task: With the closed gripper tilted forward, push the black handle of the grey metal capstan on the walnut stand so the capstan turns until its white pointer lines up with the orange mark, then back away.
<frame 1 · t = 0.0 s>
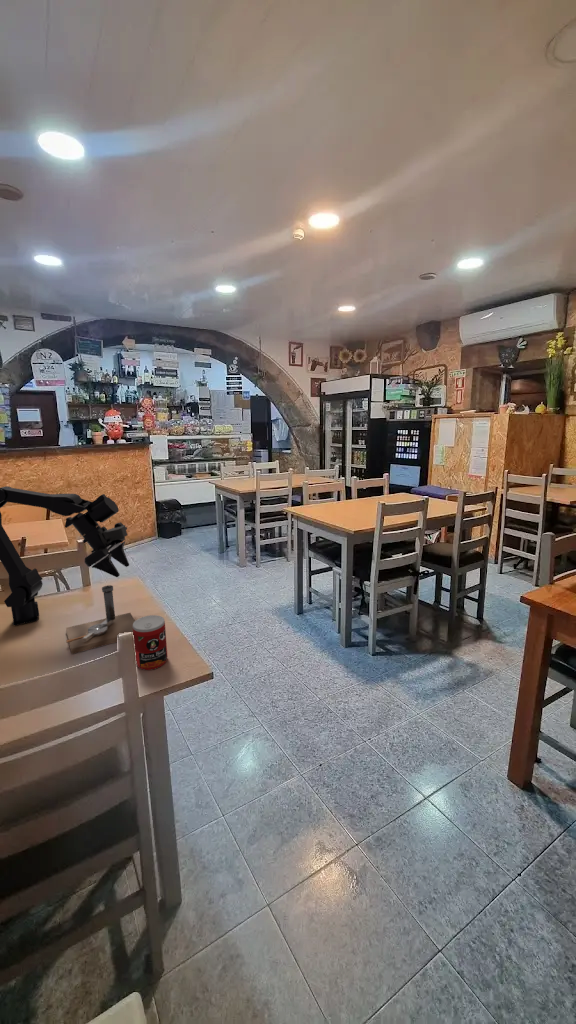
hand: (123, 571, 129), 15 cm above the table, tool tilted 35°, fingers open, 9 cm apart
canned food: (152, 662, 106), on the table
stand: (103, 633, 121), on the table
capstan: (98, 612, 118), point 7 cm above the table, hinge at 0.0°
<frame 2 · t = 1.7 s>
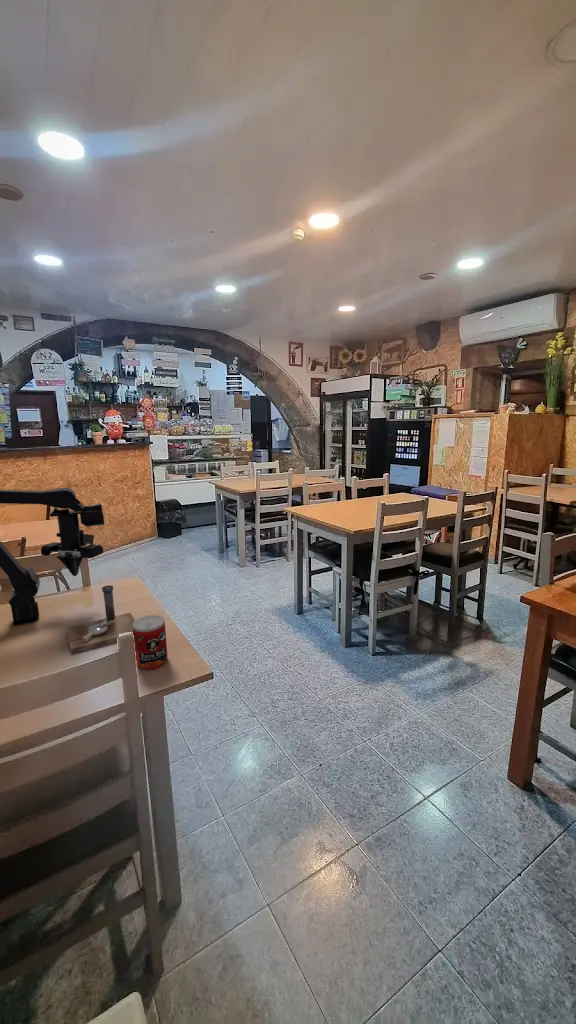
hand: (75, 575, 134), 12 cm above the table, tool pointing down, fingers closed
nothing on the table moved.
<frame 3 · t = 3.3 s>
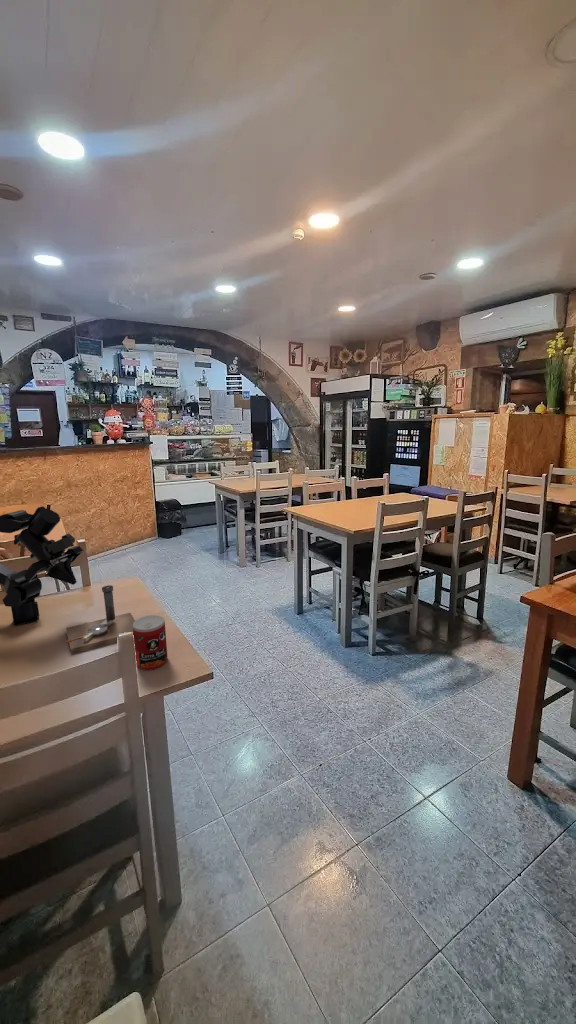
hand: (75, 583, 124), 13 cm above the table, tool tilted 45°, fingers closed
nothing on the table moved.
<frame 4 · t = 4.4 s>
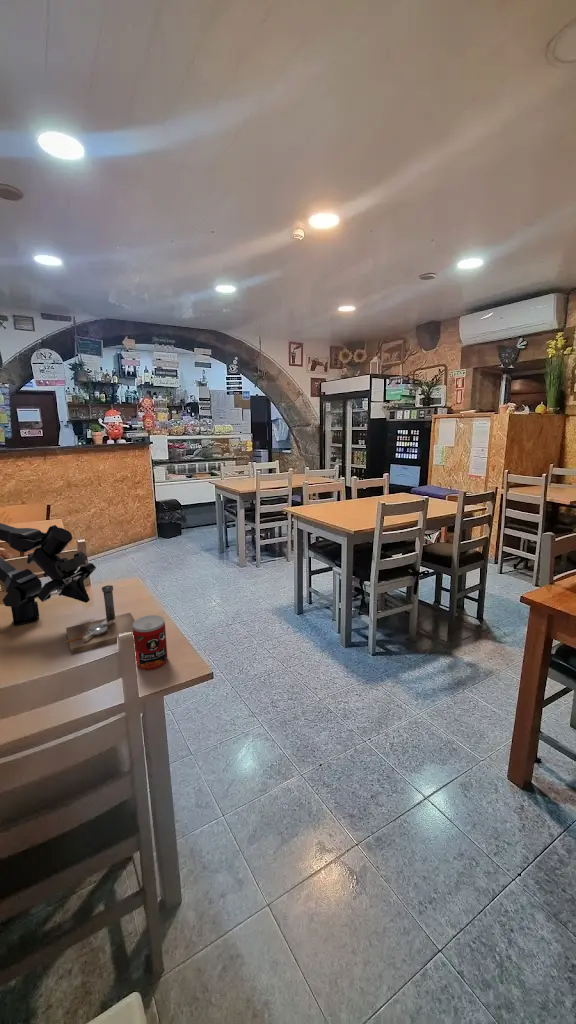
hand: (88, 601, 123), 8 cm above the table, tool tilted 45°, fingers closed
nothing on the table moved.
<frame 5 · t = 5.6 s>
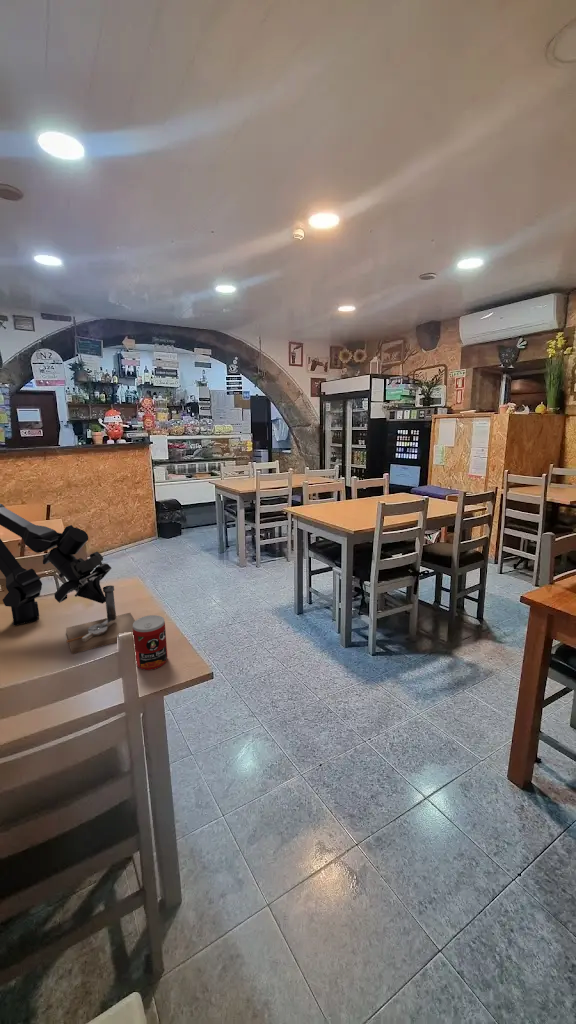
hand: (104, 602, 122), 8 cm above the table, tool tilted 45°, fingers closed
capstan: (98, 612, 118), point 7 cm above the table, hinge at -3.3°, touching gripper
everything else where it was.
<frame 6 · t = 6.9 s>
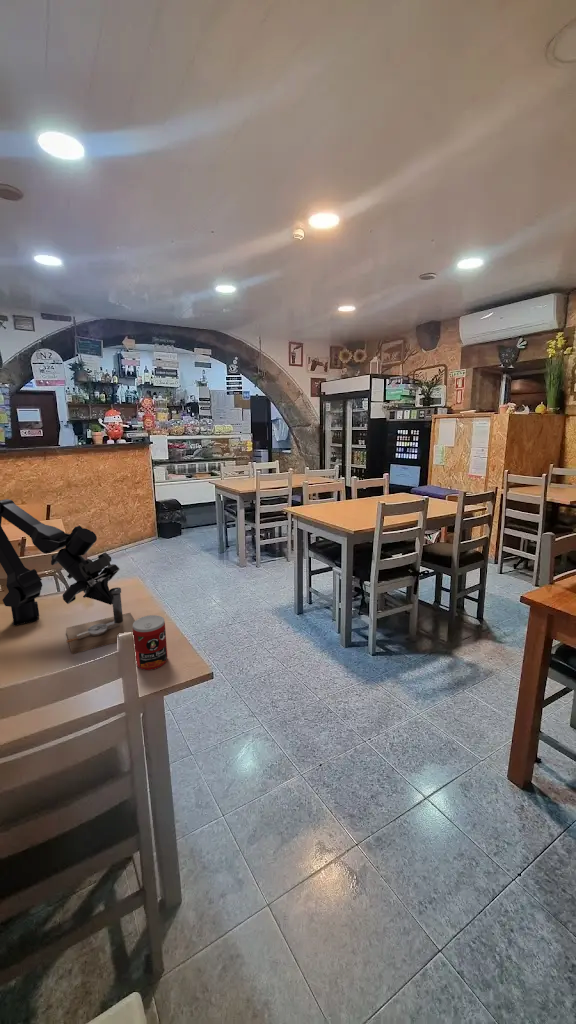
hand: (112, 603, 121), 8 cm above the table, tool tilted 45°, fingers closed, pressing on capstan
capstan: (99, 612, 118), point 7 cm above the table, hinge at -33.7°, touching gripper
everything else where it was.
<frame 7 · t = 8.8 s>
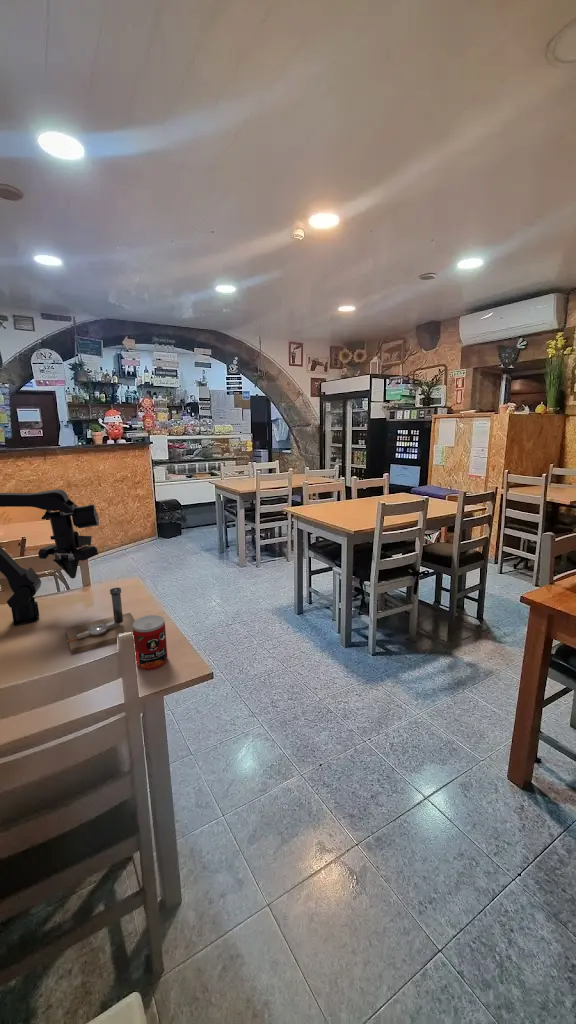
hand: (73, 577, 132), 12 cm above the table, tool pointing down, fingers closed
capstan: (99, 612, 118), point 7 cm above the table, hinge at -33.7°
everything else where it was.
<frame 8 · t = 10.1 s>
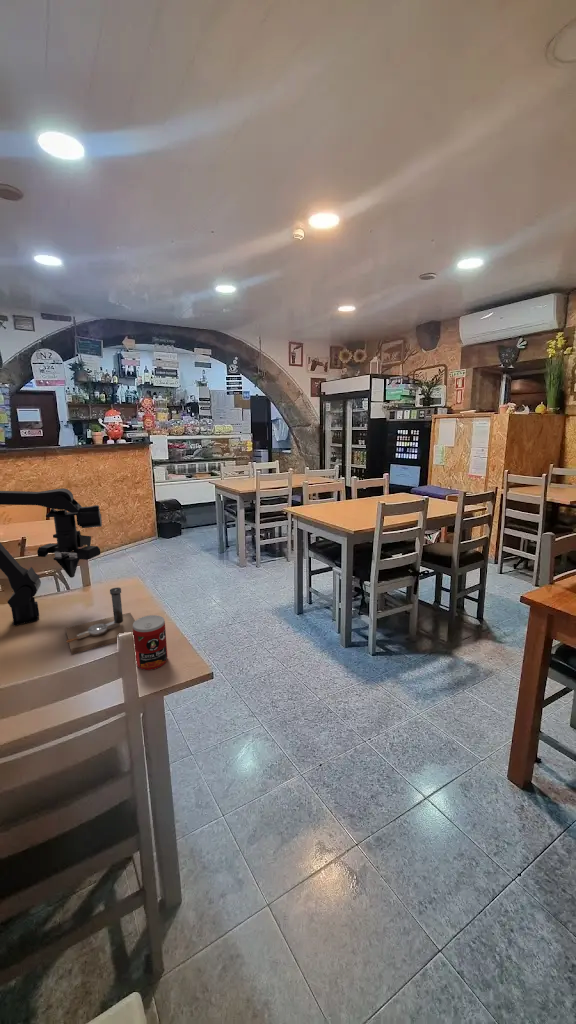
hand: (72, 577, 132), 12 cm above the table, tool pointing down, fingers closed
nothing on the table moved.
at the end: capstan at -34° (first picture: +0°); canned food moved 0.2 cm from its start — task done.
